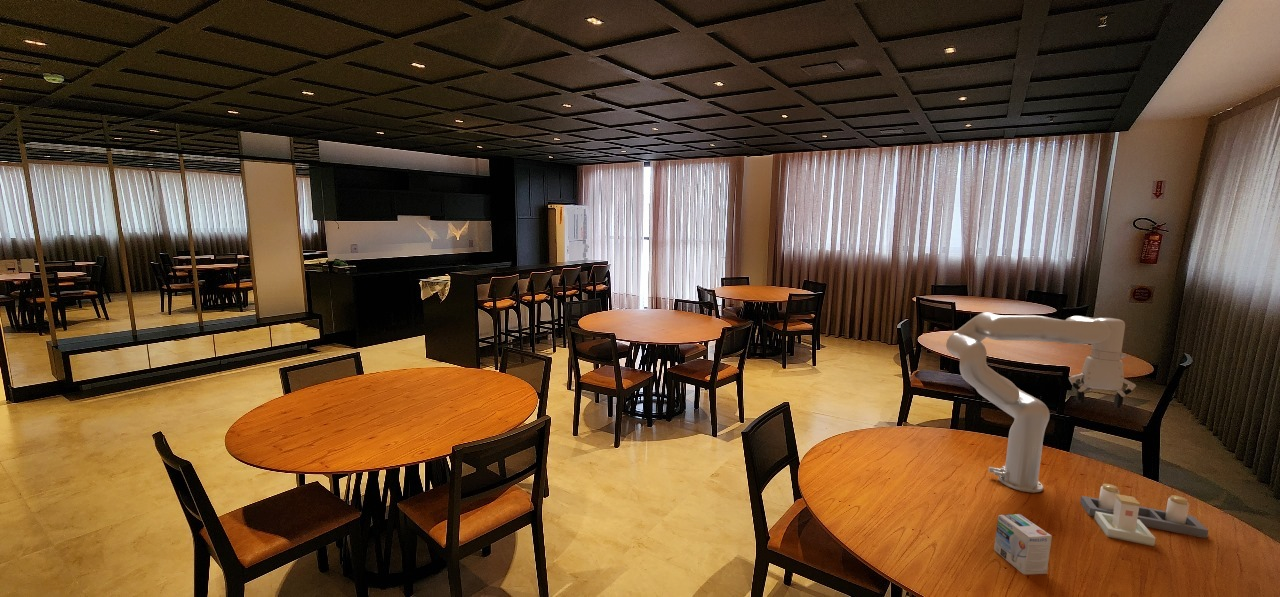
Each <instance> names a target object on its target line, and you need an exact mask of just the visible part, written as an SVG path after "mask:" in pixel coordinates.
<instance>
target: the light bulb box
mask: <svg viewBox="0 0 1280 597" xmlns="http://www.w3.org/2000/svg"><path fill="white" fill-rule="evenodd" d="M995 531H996V533H995V539H994V548H993V550H994V552H996V553H997V554H998V555H999V556H1001V557H1002V558H1003V559H1005V561H1006V562H1008V563H1009V564H1010V565H1011V566H1012V567H1014V568H1015V569H1016V570H1017V571H1018V572H1020V573H1021V574H1022V575H1024V576H1025V575H1046V574H1048V567H1049V566H1048V565H1049V560H1050V553H1051V552H1050V551H1051V546H1052V545H1051V544H1052V540H1053V539H1052V538H1053V536H1052V534H1050V533H1048V532H1047V531H1045V530H1044V529H1043V528H1041V527H1039V526H1038V525H1037V524H1035V523H1033V522H1032V521H1030V520H1029V519H1028V518H1026V517H1025V516H1023V515H1022V514H1021V513H1017V514H1016V513H1015V514H1013V513H1012V514H999V515H998V516H997V523H996V530H995Z"/></svg>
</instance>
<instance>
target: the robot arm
mask: <svg viewBox="0 0 1280 597" xmlns="http://www.w3.org/2000/svg"><path fill="white" fill-rule="evenodd" d="M1125 329H1126V323H1125V321H1124V320H1122V319H1119V318H1113V317H1089V316H1084V315H1073V316H1070V317H1067V318H1066V319H1059V318H1053V317H1048V316H1043V315H1034V314H1033V315H1031V314H1030V315H1022V314H1021V315H1019V314H1018V315H1012V314H1011V315H1008V314H1007V315H1006V314H1005V315H1000V314H996V313H993V312H989V311H988V312H987V311H984V312H981V313H978V314H977V315H975V316H974V317H972V318H971V319H970V320H968V321H967V322H966V323H965V324H963V325H962V326H961V327H959V328H958V329H956V330H955V331H954V332H953V333H952V334H951V335H949V336H948V337H947V340H946V342H945V343H946V344H945V345H946V349H947V352H948V353H949V354H951V355H952V356H954V357H955V358H958V359H959V372H960V375H961V377H962V379H963V380H965V382H966V383H968V384H969V385H970V386H971V387H972V388H974V389H975V390H976V392H977V393H978V394H979V395H980V396H982V397H983V398H984V399H986V400H988V401H989V402H990V403H991V404H993V405H995V406H996V407H997V408H999V409H1000V410H1002V411H1003V412H1005V413H1006V414H1007V415H1009V416H1010V417H1012V418H1013V420H1014V421H1013V423H1012V425H1011V426H1010V429H1009V431H1008V438H1007V439H1008V441H1007V446H1006V447H1007V449H1006V456H1005V458H1006V459H1005V463H1004V465H1002V467H999V468H998V467H994V466H988V473H992V474H993V475H994V476H998V481H999V482H1000V483H1001V484H1003V485H1004V486H1007V487H1008V488H1011V489H1013V490H1016V491H1020V492H1024V493H1025V492H1026V493H1034V494H1035V493H1036V494H1037V493H1040V492H1042V491H1043V490H1044V485H1043V484H1042V483H1041V482H1040V481H1039V476H1040V470H1041V461H1042V460H1041V459H1042V455H1043V454H1042V451H1043V442H1044V438H1045V432H1046V428H1047V426H1048V423H1049V421H1050V416H1051V414H1050V410H1049V408H1048V406H1047V405H1046V404H1045V402H1043V401H1042V400H1041V399H1039V398H1036V396H1035V397H1034V396H1033V395H1031V394H1029V393H1027V392H1025V391H1024V390H1021V389H1020V388H1019V387H1017V386H1016V385H1015V383H1013V381H1011V380H1010V379H1008V378H1006V377H1005V376H1003V375H1001V374H999V372H996V371H995V370H994V369H993V368H991V367H990V366H988V364H987V356H988V355H987V349H986V347H985V344H984V343H982V341H983V340H985V339H986V338H988V339H991V340H994V341H1016V342H1017V341H1018V342H1019V341H1020V342H1021V341H1024V342H1025V341H1026V342H1028V341H1029V342H1030V341H1034V342H1035V341H1036V342H1044V343H1061V344H1073V345H1075V344H1076V345H1091V348H1090V353H1089V356H1086V357H1085V359H1084V361H1083V362H1084V363H1083V366H1082V368H1081V373H1078V374H1074V375H1071V376H1068V380H1069V382H1070V384H1071V385H1072V386H1073V387H1074V389H1076V395H1075V396H1076V397H1075V400H1076V401H1077V402H1078V403H1079V404H1084V402H1085V401H1084V400H1085V392H1084V391H1086V390H1087V389H1088V388H1091V389H1098V390H1107V391H1115V392H1116V393H1115V395H1114V400H1113V406H1114V407H1116V408H1117V409H1121V406H1123V404H1124V403H1123V402H1124V398H1125V397H1126V396H1127V395H1129V394H1130V393H1132V391H1133V390H1135V388H1136V387H1137V385H1136V383H1134V382H1132V381H1129V380H1128V379H1126V378H1124V376H1125V374H1124V362H1123V360H1122V359H1124V358H1125V359H1126V358H1127V356H1128V355H1127V353H1124V352H1123V351H1122V349H1123V342H1124V336H1125ZM1077 380H1080V384H1078V383H1077V382H1076V381H1077ZM1124 384H1125V385H1127V386H1126V388H1123V386H1124Z"/></svg>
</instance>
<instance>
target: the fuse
mask: <svg viewBox="0 0 1280 597" xmlns="http://www.w3.org/2000/svg"><path fill="white" fill-rule="evenodd" d="M1115 497H1116V499H1115V505H1114V512H1113V519H1112V522H1111V526H1112V527H1113V528H1116V529H1121V530H1126V531H1131V532H1135V531H1136V525H1137V518H1138V516H1139V515H1138V512H1139V507H1140V506H1141V503H1140V502H1139V500H1137V499H1136V498H1135V497H1134V496H1129V495H1125V494H1120V493H1119V494H1116V495H1115Z"/></svg>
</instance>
